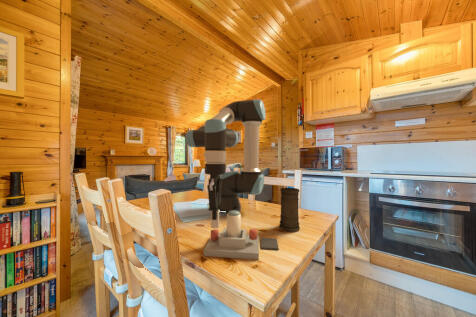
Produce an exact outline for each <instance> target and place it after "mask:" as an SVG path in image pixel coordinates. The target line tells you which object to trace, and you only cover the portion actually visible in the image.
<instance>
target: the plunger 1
mask: <svg viewBox="0 0 476 317" xmlns="http://www.w3.org/2000/svg"><path fill="white" fill-rule="evenodd" d="M219 233H220V232H219V230H218V229H217V228H213V229H211V230H210V238H211V240H218V235H219Z"/></svg>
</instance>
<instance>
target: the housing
mask: <svg viewBox="0 0 476 317" xmlns="http://www.w3.org/2000/svg"><path fill="white" fill-rule="evenodd" d="M247 230H248V229H247V228H241V238H235V237H227V227H226V228H225V227H224V228H223V229H222V230H221V231H222V232H219V235H218V240H211V237H209V240H208V242H207V244H206V245H205V247H204V249H203V256H205V257H212V258H213V257H215V258H216V257H217V258H228V259H231V258H233V259H243V260H259V259H260V254H259V252H260V244H259V243H260V240H259V239H260V237H259V234H257V239H256V240H251V239H249V233H248V232H247ZM247 233H248V234H247Z"/></svg>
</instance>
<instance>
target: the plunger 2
mask: <svg viewBox="0 0 476 317" xmlns="http://www.w3.org/2000/svg"><path fill="white" fill-rule="evenodd" d="M248 234H249V239H251V240H256V239H257V235H258V229H255V228H250V229H249V232H248Z"/></svg>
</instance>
